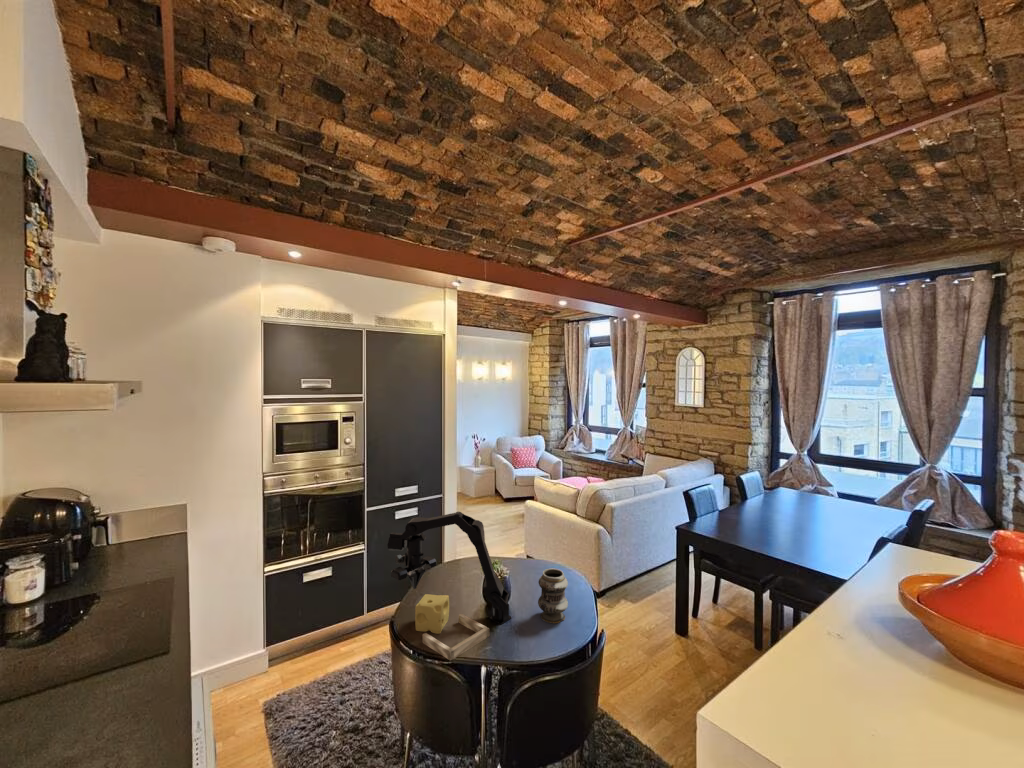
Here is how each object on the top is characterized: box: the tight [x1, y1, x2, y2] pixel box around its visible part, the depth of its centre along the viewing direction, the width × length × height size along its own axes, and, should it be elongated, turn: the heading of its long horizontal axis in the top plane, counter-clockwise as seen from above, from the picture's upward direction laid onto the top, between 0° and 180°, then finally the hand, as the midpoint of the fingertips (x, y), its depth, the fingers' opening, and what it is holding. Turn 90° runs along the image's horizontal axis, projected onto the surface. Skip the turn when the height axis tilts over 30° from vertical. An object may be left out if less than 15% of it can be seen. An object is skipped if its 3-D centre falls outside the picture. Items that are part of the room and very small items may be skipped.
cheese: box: [414, 593, 450, 635], centre depth 170 cm, size 10×11×10 cm
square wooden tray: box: [422, 613, 490, 661], centre depth 161 cm, size 16×19×3 cm
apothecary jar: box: [537, 567, 569, 624], centre depth 176 cm, size 12×12×18 cm
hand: (414, 588), depth 178 cm, fingers closed
